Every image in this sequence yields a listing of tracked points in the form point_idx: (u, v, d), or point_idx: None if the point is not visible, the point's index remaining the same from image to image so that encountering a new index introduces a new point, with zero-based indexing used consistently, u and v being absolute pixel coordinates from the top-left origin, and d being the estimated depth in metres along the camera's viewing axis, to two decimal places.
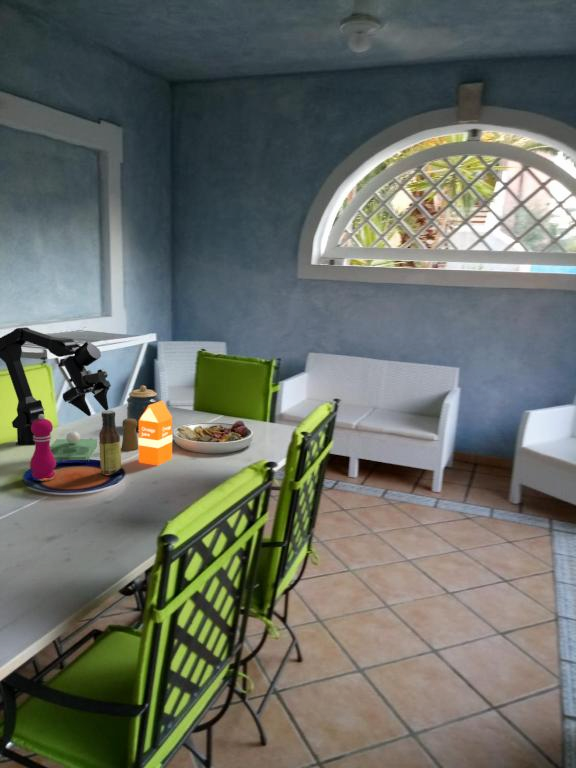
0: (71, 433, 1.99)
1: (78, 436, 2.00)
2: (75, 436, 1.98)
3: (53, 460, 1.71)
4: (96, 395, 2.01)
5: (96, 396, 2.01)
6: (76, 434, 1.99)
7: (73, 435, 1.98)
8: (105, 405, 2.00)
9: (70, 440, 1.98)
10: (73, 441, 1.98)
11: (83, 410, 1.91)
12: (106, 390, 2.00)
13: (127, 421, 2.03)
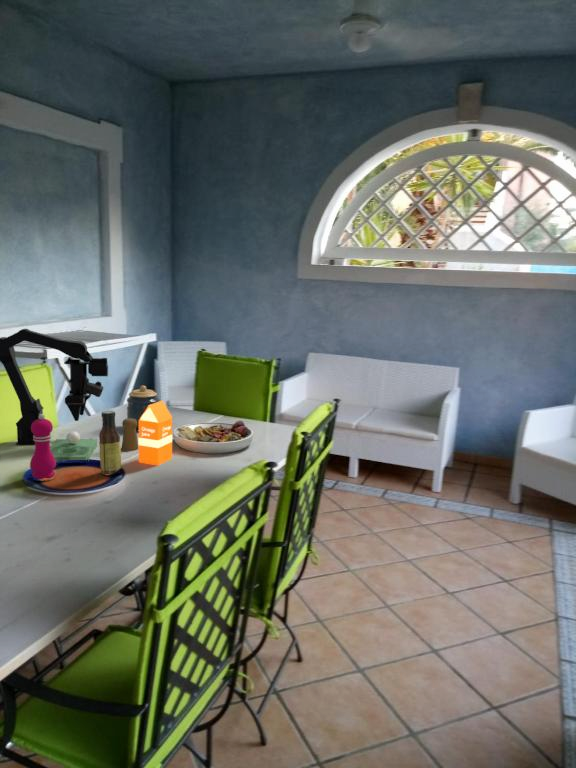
0: (71, 433, 1.99)
1: (78, 436, 2.00)
2: (75, 436, 1.98)
3: (53, 460, 1.71)
4: None
5: None
6: (76, 434, 1.99)
7: (73, 435, 1.98)
8: (83, 410, 2.15)
9: (70, 440, 1.98)
10: (73, 441, 1.98)
11: (74, 415, 2.05)
12: (88, 398, 2.16)
13: (127, 421, 2.03)
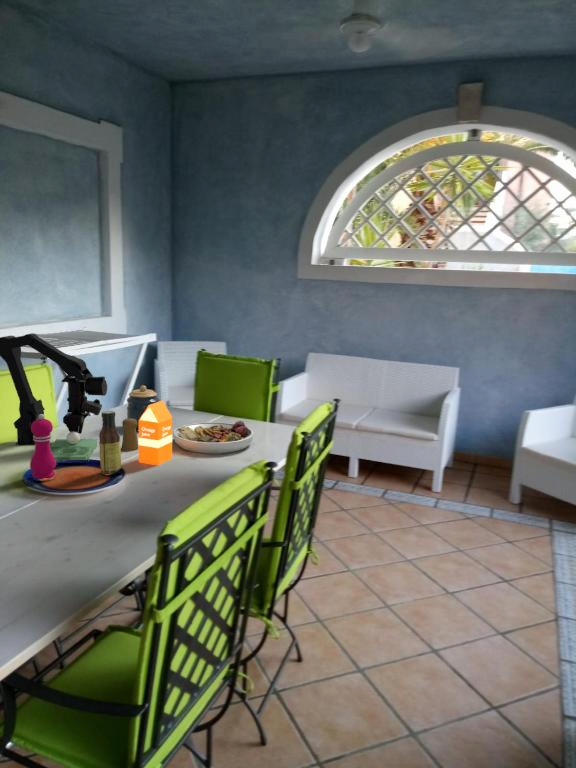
0: (71, 434, 1.98)
1: (78, 436, 1.99)
2: (75, 436, 1.98)
3: (53, 460, 1.71)
4: None
5: None
6: (76, 435, 1.99)
7: (73, 435, 1.98)
8: (81, 428, 2.11)
9: (70, 440, 1.98)
10: (73, 442, 1.98)
11: None
12: None
13: (127, 421, 2.03)
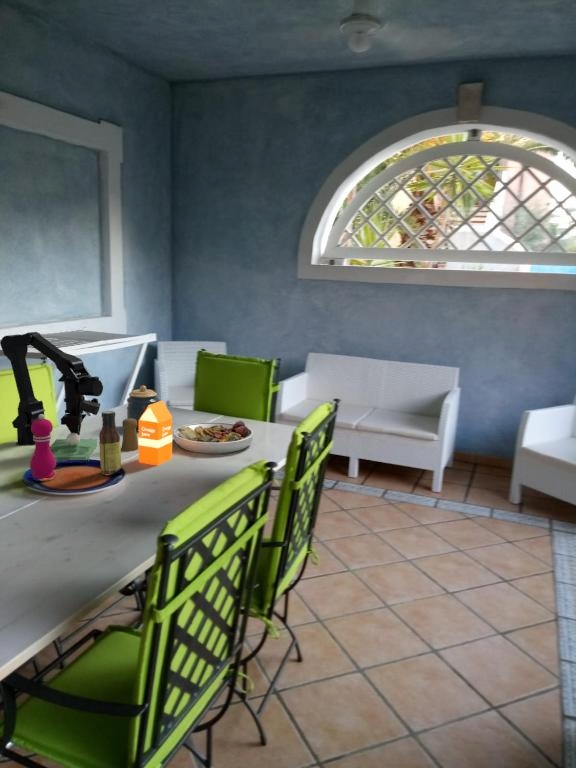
0: (71, 440, 1.96)
1: (78, 441, 1.98)
2: (75, 442, 1.97)
3: (53, 460, 1.71)
4: None
5: None
6: (76, 440, 1.97)
7: (73, 442, 1.96)
8: (78, 431, 2.04)
9: None
10: (73, 445, 1.98)
11: None
12: (84, 417, 2.05)
13: (127, 421, 2.03)
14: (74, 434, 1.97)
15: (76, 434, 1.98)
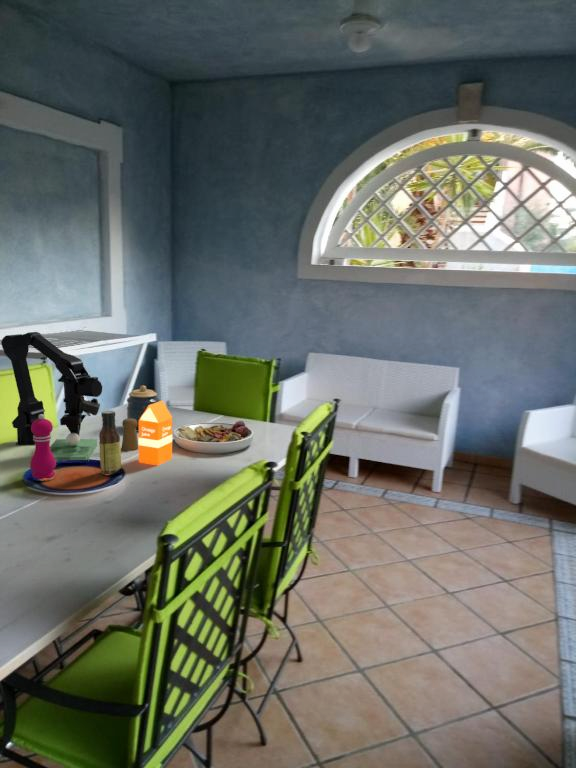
0: (71, 440, 1.96)
1: (78, 441, 1.98)
2: (75, 442, 1.97)
3: (53, 460, 1.71)
4: None
5: None
6: (76, 440, 1.97)
7: (73, 442, 1.96)
8: (78, 431, 2.03)
9: None
10: (73, 445, 1.98)
11: None
12: (83, 418, 2.04)
13: (127, 421, 2.03)
14: (74, 434, 1.97)
15: (76, 434, 1.98)
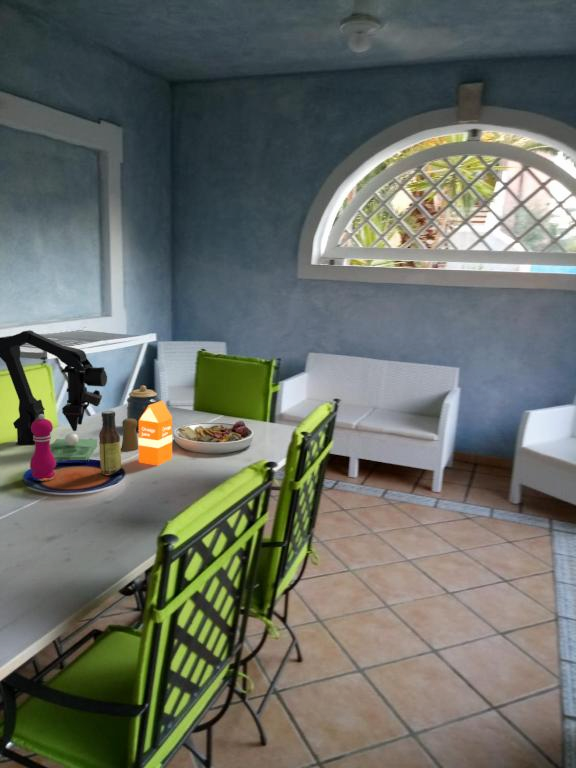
0: (69, 442, 1.96)
1: (77, 441, 1.97)
2: (73, 443, 1.96)
3: (53, 460, 1.71)
4: None
5: None
6: (74, 441, 1.96)
7: (72, 443, 1.96)
8: (81, 419, 2.10)
9: (69, 445, 1.97)
10: (73, 445, 1.98)
11: (72, 425, 2.00)
12: None
13: (127, 421, 2.03)
14: (71, 435, 1.96)
15: (73, 435, 1.97)
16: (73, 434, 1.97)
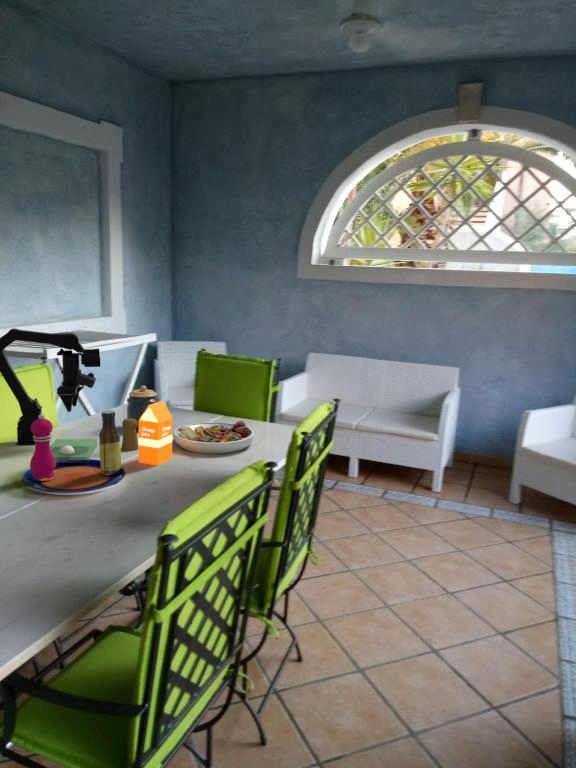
0: None
1: None
2: None
3: (53, 460, 1.71)
4: None
5: None
6: None
7: None
8: (75, 401, 2.16)
9: (68, 445, 1.92)
10: (71, 447, 1.91)
11: (66, 405, 2.06)
12: (81, 389, 2.17)
13: (127, 421, 2.03)
14: None
15: None
16: None
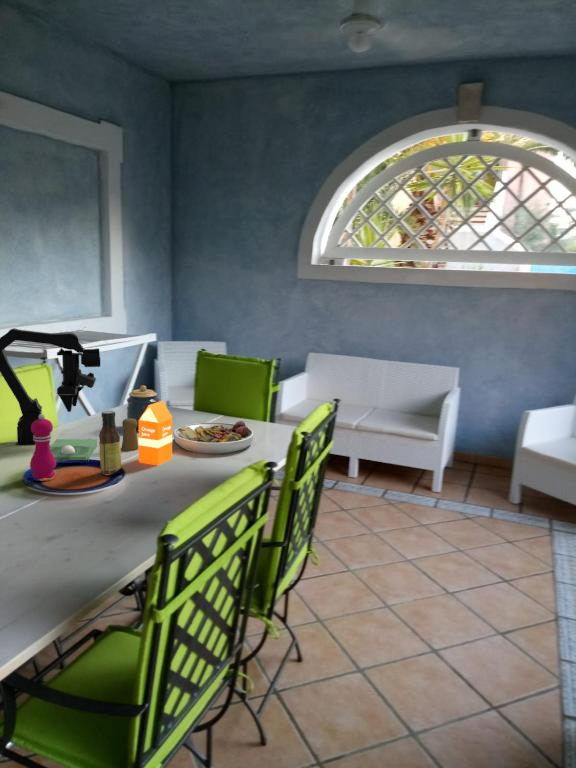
0: None
1: None
2: None
3: (53, 460, 1.71)
4: None
5: None
6: None
7: None
8: (75, 401, 2.16)
9: (69, 445, 1.92)
10: (72, 447, 1.92)
11: (66, 405, 2.06)
12: (81, 389, 2.17)
13: (127, 421, 2.03)
14: None
15: None
16: None
